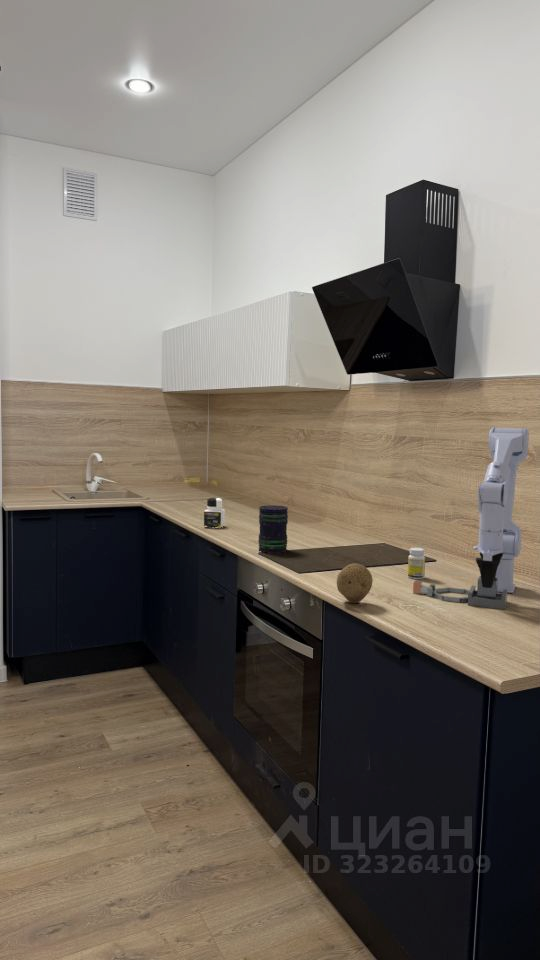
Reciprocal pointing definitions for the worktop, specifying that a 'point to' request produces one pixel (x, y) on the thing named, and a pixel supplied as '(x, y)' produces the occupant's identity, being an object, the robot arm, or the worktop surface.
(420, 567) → the supplement bottle
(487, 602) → the rack
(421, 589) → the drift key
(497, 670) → the worktop surface
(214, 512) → the medicine bottle
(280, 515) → the storage jar
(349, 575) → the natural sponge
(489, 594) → the gold-capped square jar
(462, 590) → the socket
